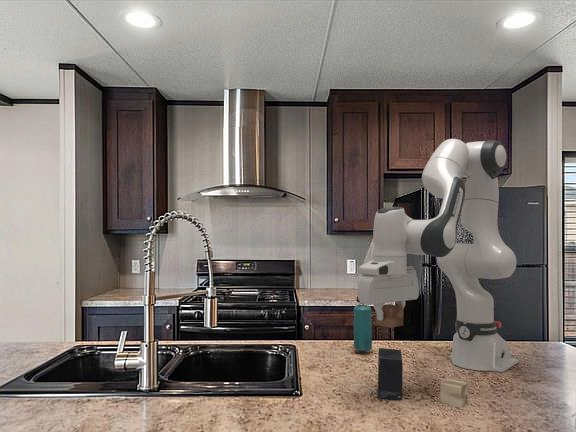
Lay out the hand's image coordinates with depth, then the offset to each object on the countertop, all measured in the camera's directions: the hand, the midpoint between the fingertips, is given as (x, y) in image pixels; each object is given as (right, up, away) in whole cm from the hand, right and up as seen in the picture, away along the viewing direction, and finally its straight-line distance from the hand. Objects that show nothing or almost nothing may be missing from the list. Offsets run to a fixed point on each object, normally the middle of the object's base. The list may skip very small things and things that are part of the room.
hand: (389, 318), depth 122 cm
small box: (0, -20, -1) cm, 20 cm away
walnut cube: (0, -2, 0) cm, 2 cm away
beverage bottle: (-1, -21, +39) cm, 44 cm away
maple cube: (+15, -20, -7) cm, 25 cm away
